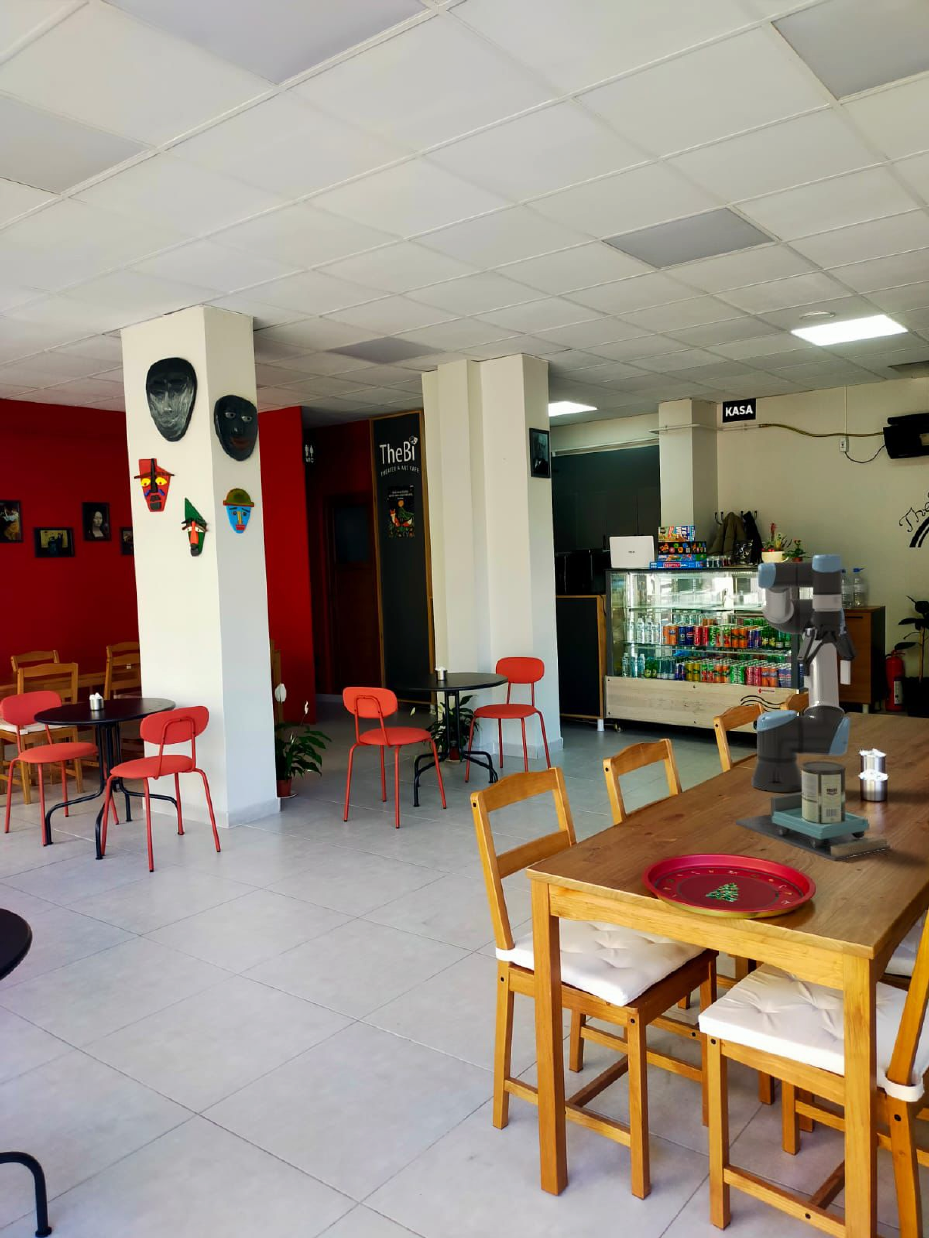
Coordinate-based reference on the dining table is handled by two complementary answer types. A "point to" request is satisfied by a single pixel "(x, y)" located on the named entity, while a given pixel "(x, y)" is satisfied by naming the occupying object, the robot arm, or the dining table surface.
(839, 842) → the track
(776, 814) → the cart
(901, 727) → the dining table surface
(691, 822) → the dining table surface
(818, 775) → the coffee can
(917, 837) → the dining table surface
